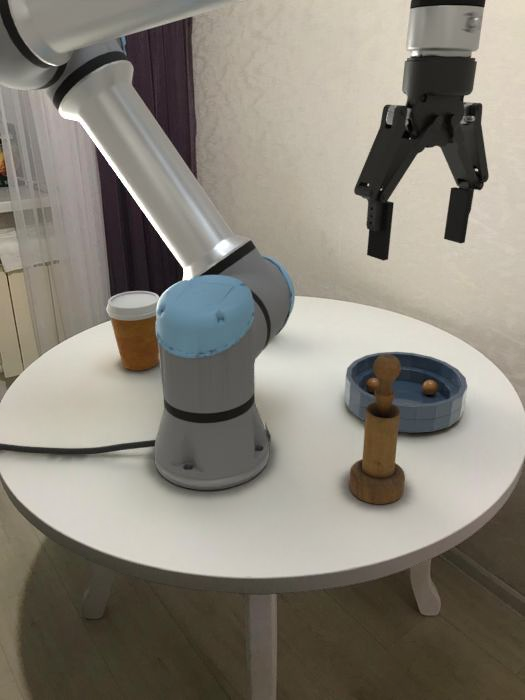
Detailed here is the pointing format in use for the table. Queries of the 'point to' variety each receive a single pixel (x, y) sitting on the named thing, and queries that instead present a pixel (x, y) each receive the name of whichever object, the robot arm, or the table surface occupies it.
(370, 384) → the bead
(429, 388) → the bead
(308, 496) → the table surface
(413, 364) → the bowl
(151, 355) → the disposable coffee cup
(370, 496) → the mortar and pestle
